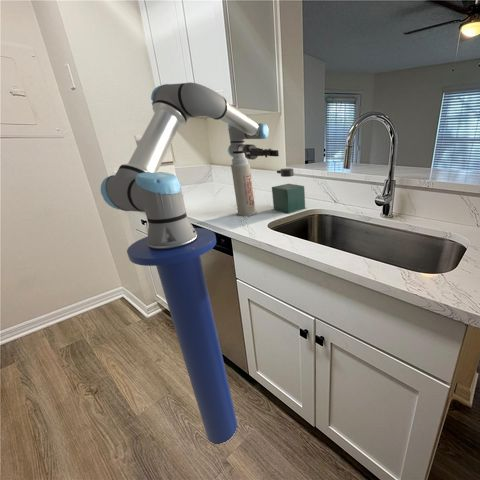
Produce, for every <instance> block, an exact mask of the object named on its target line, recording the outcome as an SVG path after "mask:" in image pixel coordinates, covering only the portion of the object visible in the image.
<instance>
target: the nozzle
mask: <svg viewBox="0 0 480 480" xmlns="http://www.w3.org/2000/svg"><path fill="white" fill-rule="evenodd" d="M276 173H277V174H280V177H282V178H283V177H284V178H288V177H289V178H290V177H294V175H295V174H294V173H295V172H294V168H290V167H288V168H281V169H278V170H276Z"/></svg>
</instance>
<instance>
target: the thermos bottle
mask: <svg viewBox="0 0 480 480" xmlns="http://www.w3.org/2000/svg"><path fill="white" fill-rule="evenodd" d="M244 153H245V152H244V151H233V154H234V155H233V156H234V158H233V157H232V159H231V163H232V164H230V168H231V173H232V174H231V176H232V182H233V189H234V194H235V202H236V209H237V215H238V216H241V217H246V216H247V217H248V216H253V215H255V214H256V205H255V204H256V203H255V196H254V187H253V179H252V172H251V164H250V163H249V159H247V158H245V154H244Z"/></svg>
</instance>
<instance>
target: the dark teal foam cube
mask: <svg viewBox="0 0 480 480" xmlns="http://www.w3.org/2000/svg"><path fill="white" fill-rule="evenodd" d="M305 191H306V190H305V185H300V184H294V183H285V184H280V185H275V186H271V194H272V205H273V210H275V211H279V212H282V213H286V214H291V213H294V212H297V211H301V210H304V209H306V196H305V193H306V192H305Z"/></svg>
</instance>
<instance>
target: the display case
mask: <svg viewBox="0 0 480 480" xmlns="http://www.w3.org/2000/svg"><path fill="white" fill-rule="evenodd" d="M142 136H143V135H134V137H133V138H134V140H135V143H136V147H137V146H138V144H139V142H140V140H141V138H142ZM170 146H171V145H170ZM170 146H169V148H168V150H167V153H166V155H165V157H164V159H163V161H162V163H161V165H160V167H159V169H158V171H157V172H165V173H170V174H173V175H175V176H176V177H177V172H176V169H175V163H174V159H173V155H172V151H171V147H170ZM177 178H178V177H177Z"/></svg>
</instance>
